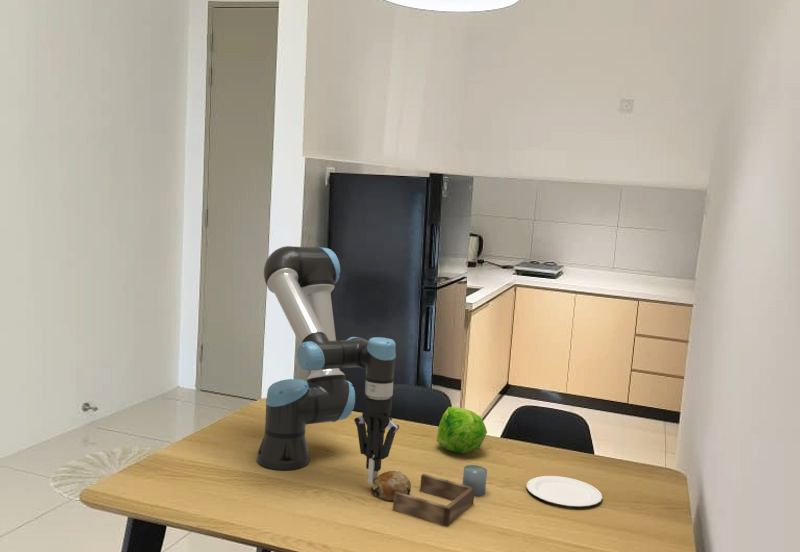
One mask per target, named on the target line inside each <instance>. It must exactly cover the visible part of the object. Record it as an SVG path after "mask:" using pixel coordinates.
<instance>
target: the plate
mask: <svg viewBox="0 0 800 552" xmlns="http://www.w3.org/2000/svg"><path fill="white" fill-rule="evenodd" d="M526 489H527V491H528V492H529V493H530V494H531V495H532V496H533V497H536V498H538V499H539V500H542V501H545V502H547V503H550V504H554V505H557V506H562V507H568V508H569V507H571V508H586V507H588V508H589V507H592V506H596V505H597V504H599V503H601V502H602V500H603V495H602V493H601V492H600V491H599V489H597V488H596V487H594V486H593V485H591V484H589V483H587V482H585V481H583V480H582V481H581V480H579V479H575V478H571V477H565V476H557V475H542V476H538V477H534V478H531V479H529V480H528V481H527V483H526Z"/></svg>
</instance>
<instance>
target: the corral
mask: <svg viewBox="0 0 800 552" xmlns="http://www.w3.org/2000/svg"><path fill="white" fill-rule="evenodd" d="M462 484H463V483H462ZM462 484H461V483H459V482H455V481H451V480H448V479H443V478H439V477H436V476H433V475H428V474H426V473H422V474H421V475H420V487H419V491H420V492H422V493H426V494H430V495H432V496H436V497H440V498H443V499H447V500H450V502H449V503H448V504H446V505H444V504H442V503H438V502H435V501H431V500H428V499H424V498H420V497H418V496H414V495H410V494H409V495H407V494H404V493H400V492H397V491H396V492H395V493H394V500H392V502H393V504H392V510H393V511H395V512H398V513H401V514H404V515H407V516H412V517H416V518H418V519H421V520H425V521H428V522H431V523H434V524H437V525H441V526H444V527H449V526H450V525H451V524H452V523H453V522H454V521H456V520H457V519H458V518H460V516H461V515H463V513H465V512H466V511H467V510H469V509H470V508H471V507H472V506H473V505H474V501H475V500H474V499H475V497H474V490H475V488H473V487H470V486H466V485H462Z"/></svg>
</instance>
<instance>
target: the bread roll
mask: <svg viewBox="0 0 800 552" xmlns="http://www.w3.org/2000/svg"><path fill="white" fill-rule="evenodd" d="M373 482H374V483H372V487H371V492H372V493H374V496H376V497H377V498H379V499H381V500H384V501H387V502H389V501H394V493H395V492H396V491H397V492H400V493H404V494H407V495H410V493H411V490H412V485H411V481H410V479H409V478H408V476H407V475H406V474H404V473H403V472H401V471H396V470H388V471H385V472H382V473H381V474H380V475H378V478H377V479H376V480H374V481H373Z"/></svg>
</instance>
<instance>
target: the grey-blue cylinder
mask: <svg viewBox="0 0 800 552" xmlns="http://www.w3.org/2000/svg"><path fill="white" fill-rule="evenodd" d="M487 476H488V469H487V468H485V467H484V466H482V465H478V464H477V465H476V464H468V465H465V466H464V467H463V474H462V485H466V486H470V487H473V488H475V490H474V498H481V497H483V496H485V495H486V489H487V479H488V478H487Z"/></svg>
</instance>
